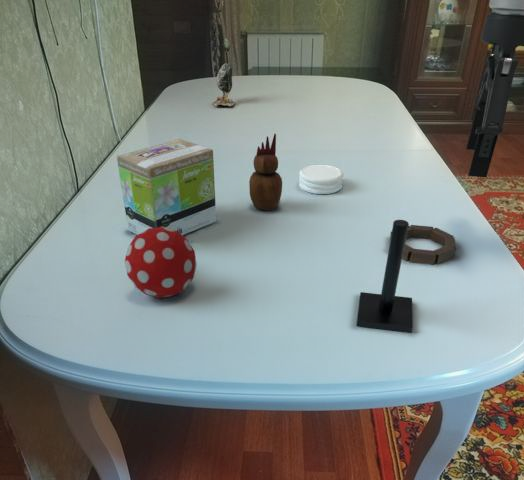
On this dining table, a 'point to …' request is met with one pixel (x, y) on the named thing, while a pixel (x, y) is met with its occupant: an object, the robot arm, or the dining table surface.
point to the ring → (429, 255)
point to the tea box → (168, 187)
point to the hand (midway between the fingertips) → (475, 162)
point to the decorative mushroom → (160, 262)
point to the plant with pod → (225, 80)
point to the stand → (388, 291)
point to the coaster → (321, 179)
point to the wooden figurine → (266, 178)
